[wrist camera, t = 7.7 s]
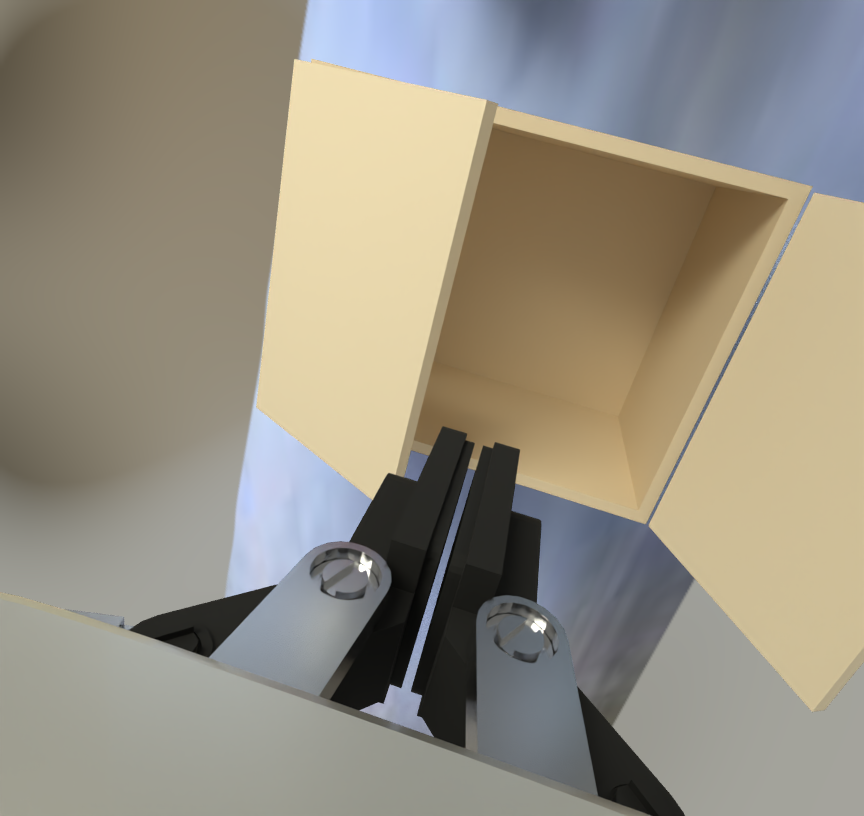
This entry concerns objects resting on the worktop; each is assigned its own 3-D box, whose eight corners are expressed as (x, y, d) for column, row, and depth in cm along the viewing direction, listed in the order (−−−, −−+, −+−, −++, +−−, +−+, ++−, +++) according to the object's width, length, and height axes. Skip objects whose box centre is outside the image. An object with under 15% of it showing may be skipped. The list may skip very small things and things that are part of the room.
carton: (391, 90, 34) (311, 58, 23) (728, 177, 32) (812, 186, 21) (347, 340, 41) (269, 405, 30) (622, 423, 39) (645, 524, 28)
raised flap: (1169, 264, 13) (1182, 268, 13) (814, 192, 21) (825, 195, 21) (812, 711, 20) (825, 710, 20) (648, 525, 28) (658, 525, 28)
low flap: (307, 63, 23) (294, 58, 22) (498, 104, 18) (486, 99, 17) (266, 405, 30) (256, 407, 29) (396, 506, 24) (386, 511, 24)
